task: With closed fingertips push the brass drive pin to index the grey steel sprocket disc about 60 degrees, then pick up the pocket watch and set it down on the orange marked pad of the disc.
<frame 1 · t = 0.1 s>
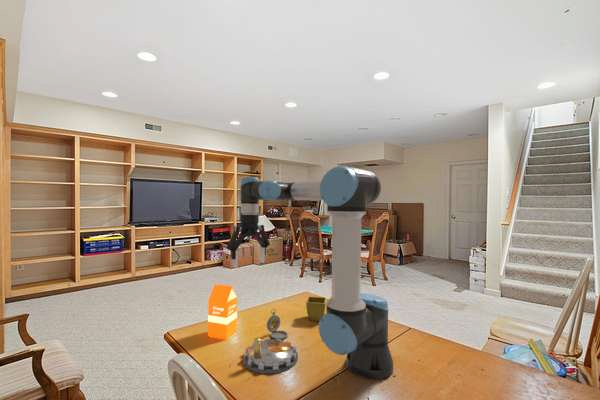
hand: (249, 264, 120), 28 cm above the table, fingers open, 13 cm apart
flower pot: (316, 319, 134), on the table
pocket watch: (277, 336, 116), on the table
sprocket: (270, 344, 100), point 5 cm above the table, hinge at 0.0°
orange juice: (222, 334, 117), on the table
base plate: (270, 357, 99), on the table
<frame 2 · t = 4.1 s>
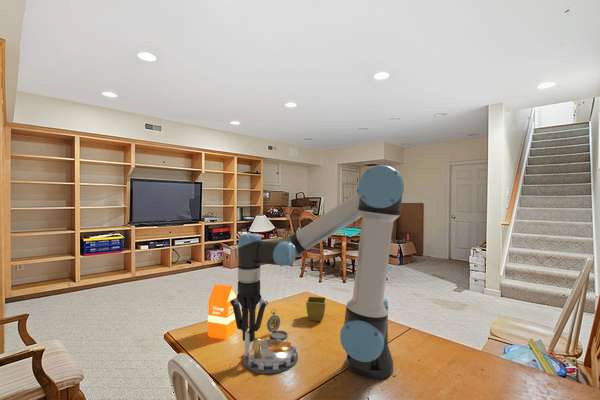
hand: (248, 350, 96), 4 cm above the table, fingers closed
sprocket: (270, 344, 100), point 5 cm above the table, hinge at 0.0°, touching gripper
everything else where it was.
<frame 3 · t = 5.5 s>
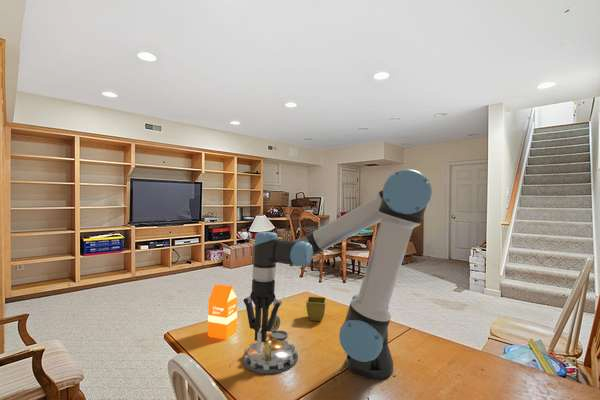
hand: (259, 350, 94), 5 cm above the table, fingers closed
sprocket: (270, 344, 100), point 5 cm above the table, hinge at 40.9°, touching gripper
everything else where it was.
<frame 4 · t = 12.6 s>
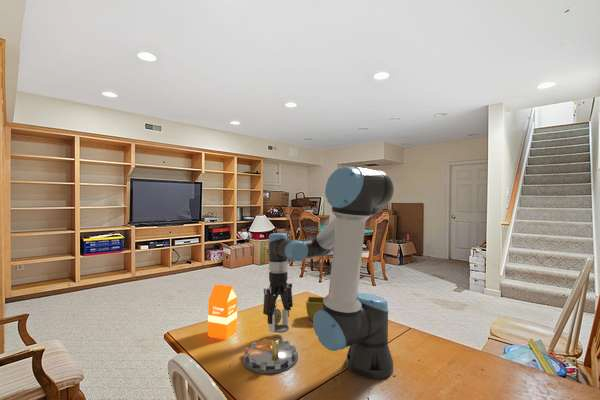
hand: (278, 328, 116), 3 cm above the table, fingers closed on pocket watch, 7 cm apart
pocket watch: (279, 329, 116), point 3 cm above the table, touching gripper
sprocket: (270, 344, 100), point 5 cm above the table, hinge at 64.4°
everything else where it was.
when the fingers open (3 cm above the table, at t = 16.7 s): pocket watch stays where it is, resting on sprocket.
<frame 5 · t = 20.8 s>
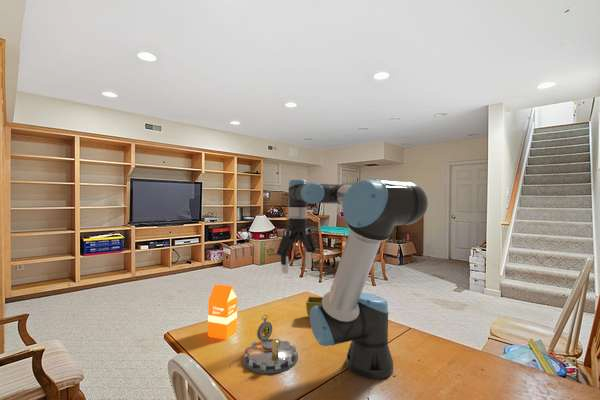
hand: (297, 270, 116), 27 cm above the table, fingers open, 13 cm apart
pocket watch: (269, 345, 103), point 2 cm above the table, touching sprocket
sprocket: (270, 344, 100), point 5 cm above the table, hinge at 64.4°, touching pocket watch
everything else where it was.
at the end: sprocket at +64° (first picture: +0°); pocket watch inside the target area (0.3 cm from its centre), point 2.4 cm above the table; pocket watch tilted 0° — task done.
